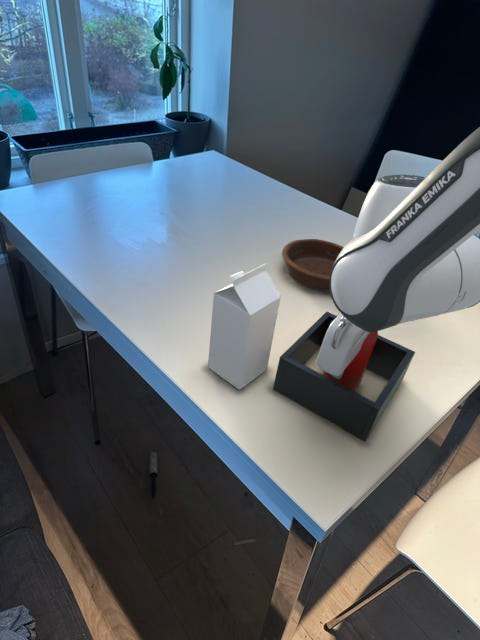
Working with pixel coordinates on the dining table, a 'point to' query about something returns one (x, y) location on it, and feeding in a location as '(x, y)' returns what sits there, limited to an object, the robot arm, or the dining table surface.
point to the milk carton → (243, 326)
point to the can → (357, 364)
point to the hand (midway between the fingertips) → (346, 362)
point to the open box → (331, 396)
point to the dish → (311, 261)
